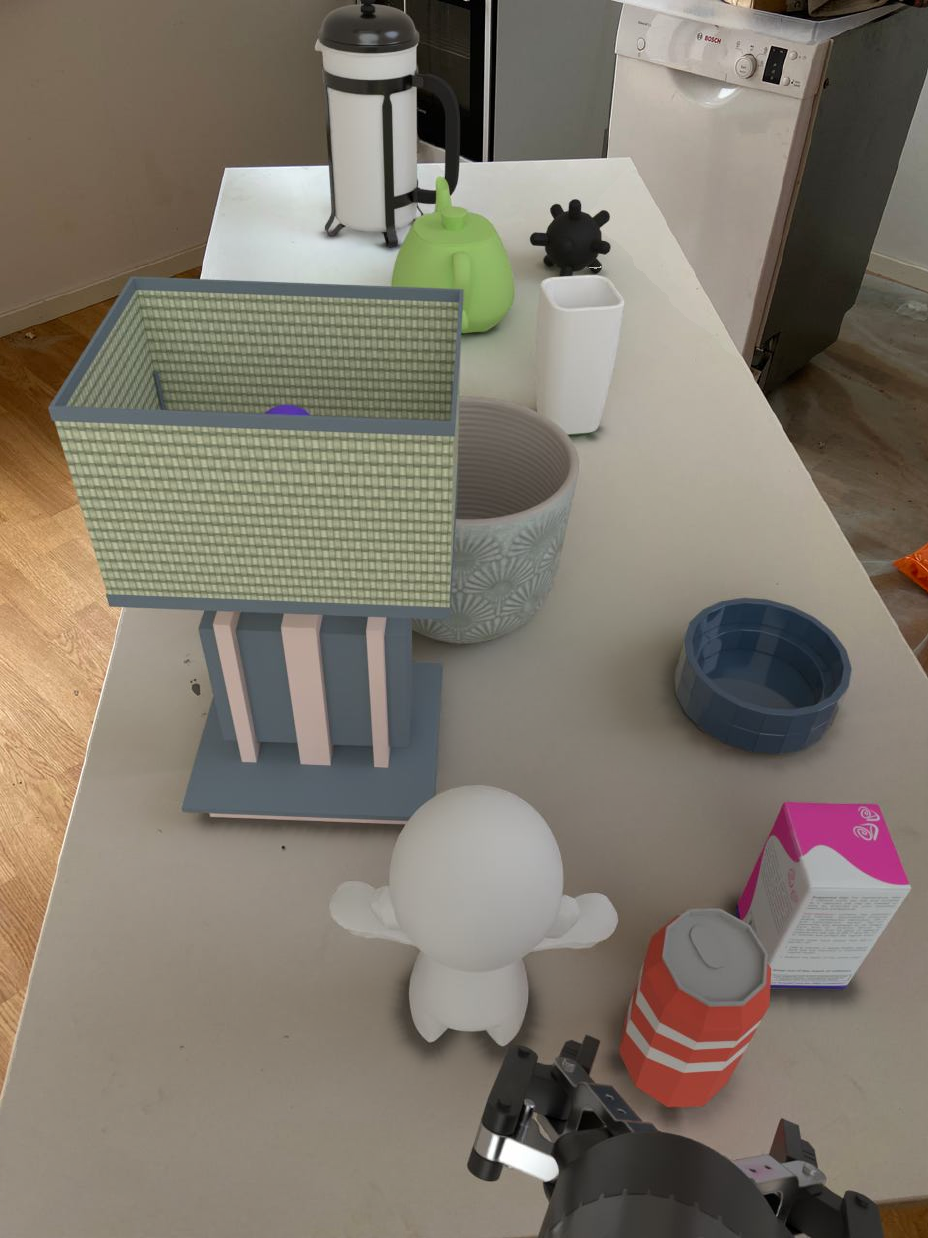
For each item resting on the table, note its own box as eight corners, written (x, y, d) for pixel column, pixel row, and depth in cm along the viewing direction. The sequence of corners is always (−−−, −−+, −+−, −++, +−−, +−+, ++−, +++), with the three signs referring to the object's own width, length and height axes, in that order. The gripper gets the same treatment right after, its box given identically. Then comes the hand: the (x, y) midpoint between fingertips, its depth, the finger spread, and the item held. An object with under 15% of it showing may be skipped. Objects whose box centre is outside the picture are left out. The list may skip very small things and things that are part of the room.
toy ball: (634, 243, 131) (624, 254, 121) (572, 292, 136) (556, 307, 126) (588, 176, 129) (573, 181, 119) (527, 228, 134) (507, 238, 124)
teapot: (385, 275, 129) (381, 173, 120) (496, 272, 131) (501, 170, 122) (398, 357, 113) (396, 246, 104) (525, 352, 115) (533, 242, 106)
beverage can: (691, 988, 59) (734, 882, 51) (748, 1092, 55) (805, 994, 46) (600, 1021, 57) (630, 917, 49) (651, 1130, 53) (693, 1037, 45)
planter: (385, 692, 76) (378, 540, 65) (345, 556, 87) (334, 408, 77) (589, 654, 79) (614, 504, 69) (524, 528, 91) (537, 383, 80)
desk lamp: (452, 685, 76) (463, 286, 54) (444, 839, 66) (454, 427, 43) (219, 676, 76) (132, 274, 54) (176, 829, 66) (45, 411, 43)
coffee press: (339, 258, 133) (323, 3, 112) (313, 213, 143) (294, -26, 123) (459, 244, 137) (465, -4, 116) (425, 202, 148) (425, -32, 127)
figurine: (595, 957, 60) (645, 755, 46) (604, 1098, 54) (664, 914, 40) (344, 944, 60) (319, 739, 47) (324, 1083, 54) (289, 894, 40)
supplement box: (849, 990, 59) (915, 891, 51) (752, 990, 59) (803, 890, 51) (823, 904, 63) (880, 800, 55) (733, 903, 63) (777, 799, 55)
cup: (542, 445, 101) (555, 311, 91) (525, 408, 106) (536, 277, 96) (609, 439, 102) (629, 306, 92) (589, 403, 107) (606, 272, 97)
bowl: (857, 692, 77) (878, 648, 73) (786, 787, 70) (805, 743, 67) (721, 621, 82) (734, 577, 79) (643, 702, 76) (654, 657, 72)
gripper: (978, 1345, 24) (879, 1085, 40) (452, 1100, 28) (550, 951, 43) (886, 1630, 24) (823, 1259, 40) (374, 1347, 28) (500, 1110, 44)
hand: (681, 1098), depth 42 cm, fingers open, 8 cm apart
